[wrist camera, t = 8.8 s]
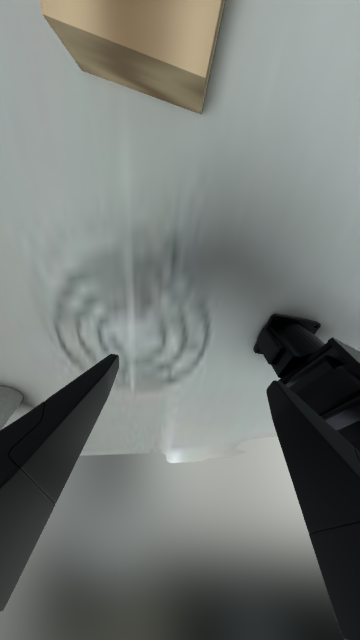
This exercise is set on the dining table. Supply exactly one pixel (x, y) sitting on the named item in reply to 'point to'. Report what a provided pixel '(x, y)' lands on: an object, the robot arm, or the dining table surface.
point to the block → (142, 43)
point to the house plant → (8, 403)
